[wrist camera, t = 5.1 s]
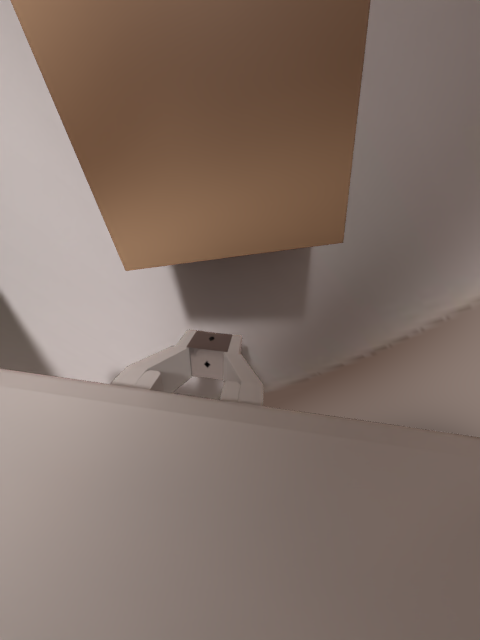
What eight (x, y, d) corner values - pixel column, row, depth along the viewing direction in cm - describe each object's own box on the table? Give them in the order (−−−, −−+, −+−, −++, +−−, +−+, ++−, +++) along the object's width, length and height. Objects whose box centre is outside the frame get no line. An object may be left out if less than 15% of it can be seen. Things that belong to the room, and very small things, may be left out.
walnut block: (104, 7, 6) (-110, -282, 3) (322, -85, 5) (464, -826, 1) (175, 253, 10) (125, 270, 6) (310, 234, 9) (342, 242, 5)
